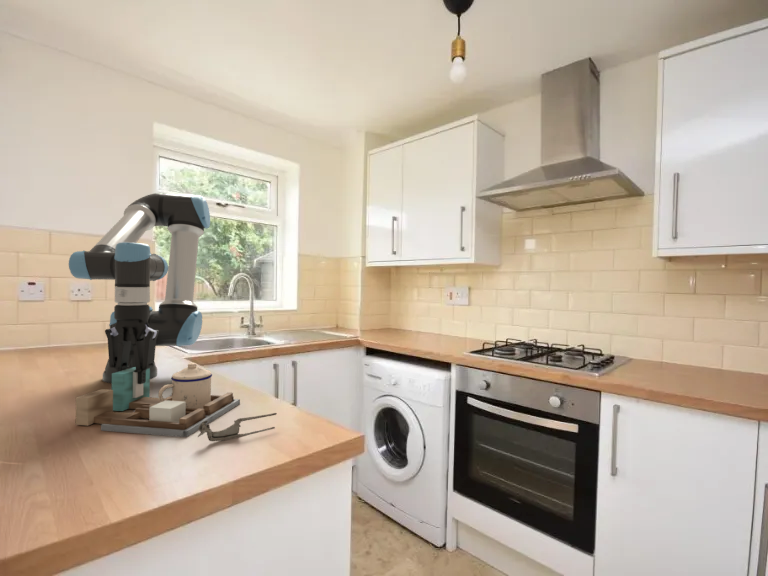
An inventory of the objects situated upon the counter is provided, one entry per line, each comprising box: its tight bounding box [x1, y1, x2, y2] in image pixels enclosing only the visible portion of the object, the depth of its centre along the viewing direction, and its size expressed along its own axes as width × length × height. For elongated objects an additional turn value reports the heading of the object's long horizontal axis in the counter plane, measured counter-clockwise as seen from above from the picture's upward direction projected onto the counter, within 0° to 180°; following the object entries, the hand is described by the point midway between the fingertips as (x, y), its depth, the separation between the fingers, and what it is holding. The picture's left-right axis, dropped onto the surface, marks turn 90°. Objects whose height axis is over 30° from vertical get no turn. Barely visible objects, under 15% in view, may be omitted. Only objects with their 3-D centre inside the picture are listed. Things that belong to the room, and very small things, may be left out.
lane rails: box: [100, 394, 241, 438], centre depth 92 cm, size 22×20×1 cm
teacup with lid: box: [157, 362, 213, 409], centre depth 96 cm, size 12×9×12 cm
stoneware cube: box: [148, 400, 186, 423], centre depth 86 cm, size 5×5×5 cm
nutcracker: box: [197, 412, 277, 442], centre depth 81 cm, size 16×1×5 cm, turn 129°
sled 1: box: [75, 388, 205, 430], centre depth 87 cm, size 8×26×6 cm, turn 83°
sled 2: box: [111, 367, 235, 416], centre depth 97 cm, size 12×26×9 cm, turn 83°
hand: (131, 395), depth 99 cm, fingers closed on sled 2, 3 cm apart
